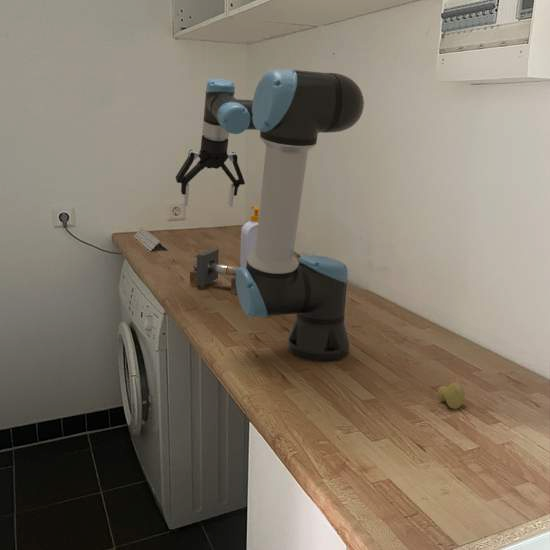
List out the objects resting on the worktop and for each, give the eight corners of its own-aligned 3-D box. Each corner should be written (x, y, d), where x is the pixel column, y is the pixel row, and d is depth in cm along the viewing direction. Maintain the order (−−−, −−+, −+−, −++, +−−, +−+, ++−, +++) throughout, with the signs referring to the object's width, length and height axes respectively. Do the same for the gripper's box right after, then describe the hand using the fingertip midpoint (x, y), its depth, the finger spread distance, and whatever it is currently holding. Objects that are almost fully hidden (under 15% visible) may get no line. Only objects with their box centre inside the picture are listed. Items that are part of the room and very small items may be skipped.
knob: (466, 406, 117) (470, 384, 116) (449, 412, 114) (453, 389, 113) (448, 396, 121) (451, 375, 120) (431, 402, 118) (434, 380, 117)
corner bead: (131, 238, 255) (131, 227, 254) (151, 237, 259) (151, 226, 258) (148, 253, 230) (148, 241, 229) (170, 252, 234) (170, 240, 233)
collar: (218, 278, 193) (218, 249, 190) (203, 285, 184) (203, 255, 181) (211, 277, 194) (212, 248, 191) (196, 284, 185) (196, 254, 182)
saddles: (249, 289, 188) (249, 274, 186) (239, 295, 181) (239, 279, 180) (200, 281, 194) (200, 267, 193) (189, 286, 188) (190, 271, 186)
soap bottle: (261, 265, 217) (263, 205, 210) (269, 270, 211) (271, 208, 204) (239, 267, 213) (240, 206, 207) (246, 272, 207) (248, 209, 201)
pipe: (246, 276, 184) (247, 266, 184) (242, 278, 182) (242, 268, 181) (197, 268, 191) (197, 259, 190) (193, 270, 188) (193, 261, 187)
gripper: (254, 134, 169) (245, 199, 180) (168, 128, 161) (164, 197, 172) (261, 143, 163) (251, 210, 174) (172, 138, 155) (167, 209, 166)
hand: (208, 204), depth 173 cm, fingers open, 13 cm apart
